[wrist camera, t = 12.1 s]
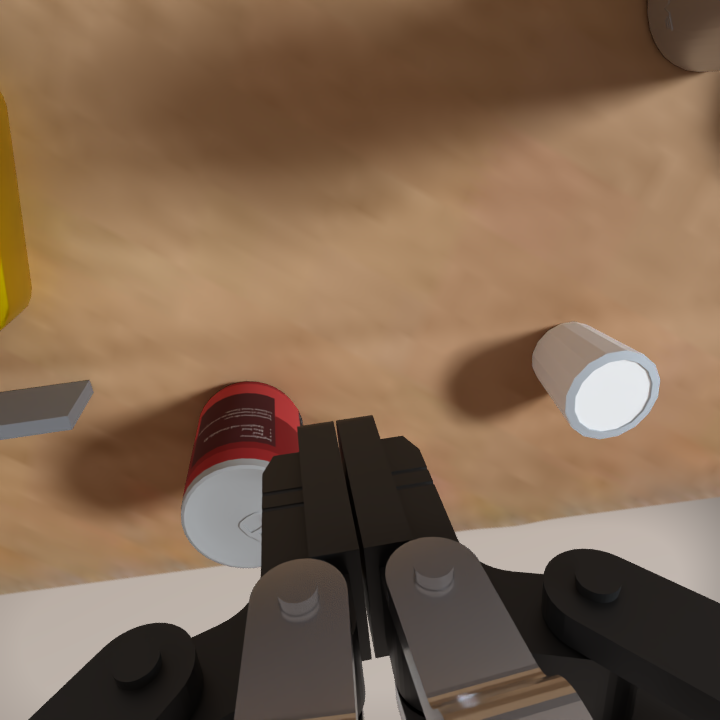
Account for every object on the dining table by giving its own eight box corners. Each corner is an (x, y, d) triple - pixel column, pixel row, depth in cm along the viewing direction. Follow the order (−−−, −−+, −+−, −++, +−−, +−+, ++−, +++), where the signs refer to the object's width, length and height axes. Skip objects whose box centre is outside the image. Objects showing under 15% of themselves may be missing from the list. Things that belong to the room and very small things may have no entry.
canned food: (264, 482, 46) (263, 587, 37) (177, 432, 43) (151, 533, 34) (324, 415, 45) (340, 507, 35) (238, 358, 42) (229, 442, 32)
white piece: (507, 375, 46) (546, 421, 39) (556, 300, 43) (605, 335, 37) (574, 404, 48) (620, 452, 41) (623, 334, 45) (681, 373, 39)
